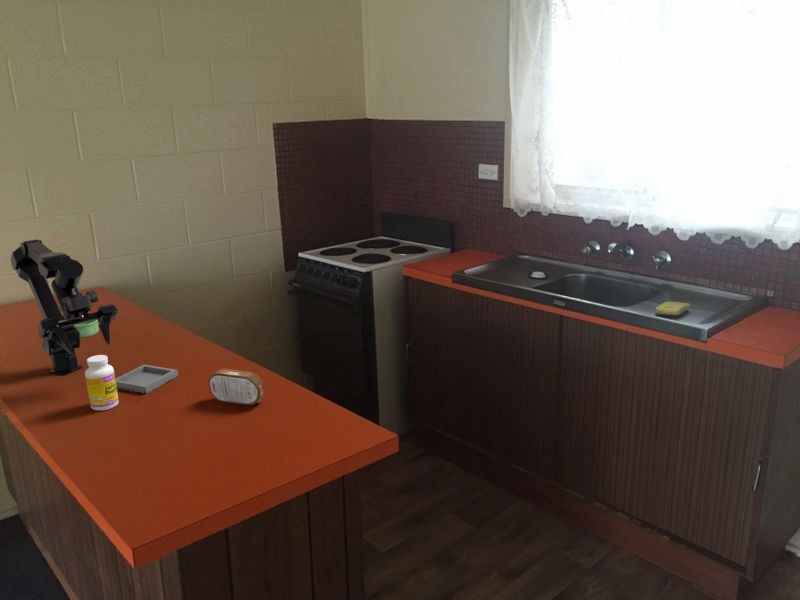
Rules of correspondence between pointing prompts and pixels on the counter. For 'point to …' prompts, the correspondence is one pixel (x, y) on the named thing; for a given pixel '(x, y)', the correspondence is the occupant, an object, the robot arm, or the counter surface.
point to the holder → (145, 378)
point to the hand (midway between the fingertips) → (90, 349)
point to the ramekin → (87, 328)
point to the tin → (236, 387)
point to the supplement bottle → (101, 383)
